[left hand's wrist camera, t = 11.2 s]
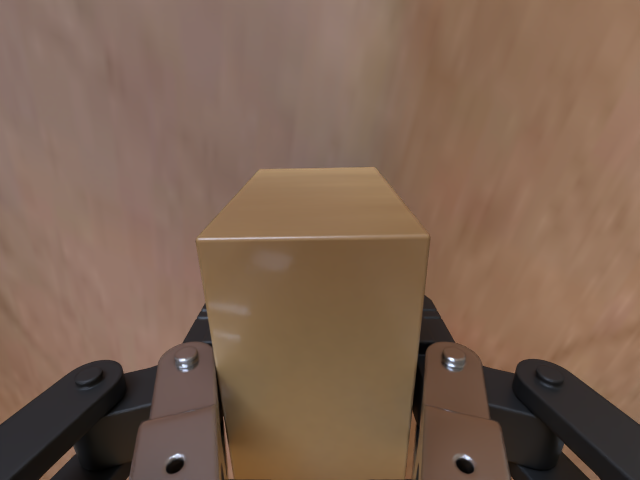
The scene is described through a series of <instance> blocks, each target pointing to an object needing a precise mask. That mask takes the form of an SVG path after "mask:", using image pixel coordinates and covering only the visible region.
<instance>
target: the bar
mask: <svg viewBox="0 0 640 480" xmlns="http://www.w3.org/2000/svg"><path fill="white" fill-rule="evenodd" d="M429 246H430V235H429V233H428V232H427V231H426V230H425V228H424V227H423V226H422V225H421V223H420V222H419V221H418V220H417V218H416V217H415V216H414V215H413V214H412V212H411V211H410V210H409V209H408V207H407V206H406V205H405V204H404V202H403V201H402V200H401V199H400V197H399V196H398V195H397V194H396V192H395V191H394V190H393V189H392V187H391V186H390V185H389V184H388V183H387V181H386V180H385V179H384V178H383V176H382V175H381V174H380V173H379V171H378V170H377V169H376V168H375V167H358V168H301V169H260V170H258V171H257V173H256V174H255V175H254V176H253V177H252V178H251V179H250V180H249V181H248V182H247V183H246V185H245V186H244V187H243V188H242V189H241V190H240V191H239V192H238V193H237V194H236V195H235V196H234V198H233V199H232V200H231V201H230V202H229V203H228V204H227V205H226V206H225V207H224V208H223V210H222V211H221V212H220V213H219V214H218V215H217V216H216V217H215V218H214V219H213V220H212V222H211V223H210V224H209V225H208V226H207V227H206V228H205V229H204V230H203V231H202V232H201V234H200V235H199V236H198V237H197V238H196V247H197V253H198V259H199V265H200V272H201V278H202V284H203V290H204V296H205V303H206V309H207V315H208V321H209V327H210V334H211V340H212V346H213V352H214V359H215V365H216V371H217V377H218V383H219V390H220V396H221V402H222V408H223V414H224V421H225V427H226V433H227V439H228V445H229V452H230V458H231V464H232V470H233V476H234V479H271V480H369V479H405V474H406V465H407V455H408V445H409V436H410V426H411V417H412V407H413V398H414V388H415V379H416V369H417V360H418V350H419V341H420V331H421V322H422V312H423V303H424V293H425V284H426V274H427V265H428V255H429Z"/></svg>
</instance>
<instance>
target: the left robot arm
mask: <svg viewBox="0 0 640 480" xmlns="http://www.w3.org/2000/svg"><path fill="white" fill-rule="evenodd" d="M412 410H413V413H414V417H415V420H416V428H415V440H414V453H413V466H412V479H369V480H511V477H512V478H513V479H514V480H590V479H589V478H588V477H587V476H586V475H585V474H584V473H583V472H582V471H581V470H580V469H579V468H578V467H577V466H576V465H575V464H574V463H573V462H572V461H571V460H570V459H569V458H568V457H567V456H566V455H565V454H564V453H563V452H562V448H563V445H564V444H565V445H567V446H568V447H569V448H570V449H571V450H572V451H573V452H574V453H575V454H576V455H577V456H578V457H579V458H580V459H581V460H582V461H583V462H584V463H585V464H586V465H587V466H588V467H589V468H590V469H591V470H592V471H593V472H594V473H595V474H596V475H597V476H598V477H599V478H600V479H601V480H640V425H639V424H638V423H637V422H635V421H634V420H633V419H631V418H630V417H629V416H627V415H626V414H625V413H623V412H622V411H621V410H620V409H618V408H617V407H616V406H614V405H613V404H612V403H610V402H609V401H608V400H606V399H605V398H604V397H602V396H601V395H600V394H598V393H597V392H596V391H594V390H593V389H592V388H590V387H589V386H588V385H586V384H585V383H584V382H582V381H581V380H580V379H578V378H577V377H576V376H574V375H573V374H572V373H570V372H569V371H567V370H566V369H564V368H562V367H561V366H558V365H556V364H554V363H551V362H548V361H544V360H539V359H527V360H523V361H521V362H519V364H518V365H517V367H516V371H515V373H510V372H506V371H501V370H497V369H492V368H488V367H485V366H482V362H481V360H480V358H479V357H478V355H477V354H476V353H475V352H473V351H472V350H471V349H469V348H467V347H465V346H463V345H460V344H457V343H455V341H454V340H453V338H452V336H451V334H450V333H449V331H448V329H447V327H446V325H445V324H444V322H443V320H442V319H441V316H440V315H439V313H438V311H437V309H436V308H435V306H434V304H433V302H432V300H430V299H429V298H428V297H426V296H425V295H424V303H423V312H422V322H421V331H420V341H419V350H418V360H417V369H416V379H415V388H414V398H413V407H412ZM223 416H224V414H223V408H222V402H221V396H220V390H219V383H218V377H217V371H216V365H215V359H214V352H213V346H212V340H211V334H210V327H209V321H208V315H207V309H206V303H205V304H204V306H203V308H202V311H201V312H200V313H199V315H198V317H197V319H196V320H195V322H194V324H193V326H192V327H191V329H190V331H189V333H188V334H187V336H186V338H185V340H184V341H183V343H182V344H180V345H177V346H175V347H173V348H171V349H169V350H168V351H167V352H165V353H164V354H163V355H162V357H161V358H160V360H159V362H158V365H157V366H154V367H151V368H147V369H143V370H138V371H134V372H129V373H125V374H124V373H123V369H122V366H121V365H120V364H119V363H118V362H116V361H112V360H100V361H94V362H91V363H88V364H85V365H82V366H80V367H78V368H76V369H75V370H73V371H71V372H70V373H68V374H67V375H66V376H64V377H63V378H62V379H60V380H59V381H58V382H56V383H55V384H54V385H52V386H51V387H50V388H48V389H47V390H46V391H44V392H43V393H42V394H40V395H39V396H38V397H36V398H35V399H34V400H32V401H31V402H30V403H28V404H27V405H26V406H24V407H23V408H22V409H20V410H19V411H18V412H17V413H15V414H14V415H13V416H11V417H10V418H9V419H7V420H6V421H5V422H3V423H2V424H1V425H0V480H39V479H40V478H41V477H42V476H43V474H45V473H46V472H47V471H48V470H49V469H50V468H51V467H52V466H53V465H54V464H55V463H56V462H57V461H58V460H59V459H60V458H61V457H62V456H63V455H64V454H65V453H66V452H67V451H68V450H69V449H70V448H71V447H72V446H74V449H75V452H76V454H75V455H74V456H73V457H72V458H71V459H70V460H69V461H68V462H67V463H66V464H65V465H64V466H63V467H62V468H61V469H60V470H59V471H58V472H57V473H56V474H55V475H54V476H53V477H52V478H51V479H50V480H126V479H127V478H128V476H129V480H271V479H228V466H227V453H226V439H225V428H224V420H223Z"/></svg>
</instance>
